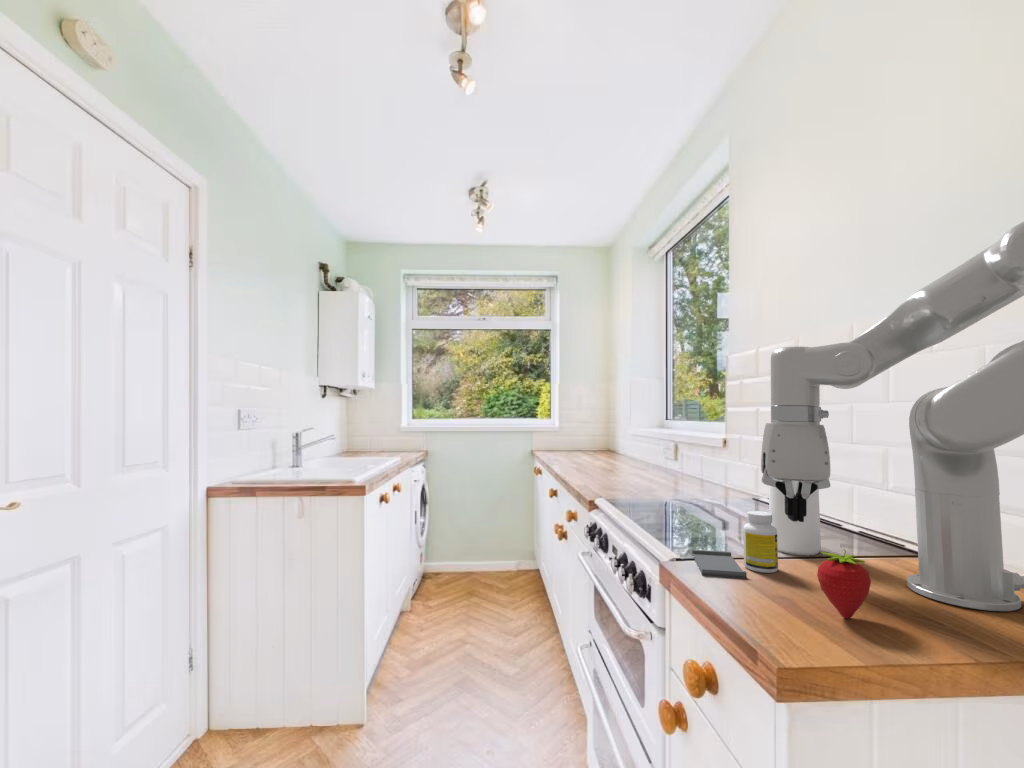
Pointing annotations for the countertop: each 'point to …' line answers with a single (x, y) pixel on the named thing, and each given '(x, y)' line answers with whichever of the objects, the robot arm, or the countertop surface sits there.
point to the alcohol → (796, 524)
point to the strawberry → (844, 582)
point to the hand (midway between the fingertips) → (795, 519)
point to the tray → (717, 564)
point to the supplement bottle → (760, 543)
